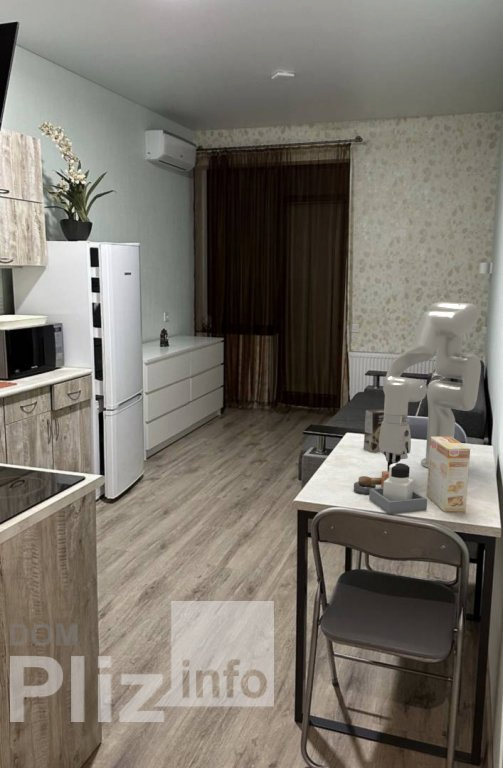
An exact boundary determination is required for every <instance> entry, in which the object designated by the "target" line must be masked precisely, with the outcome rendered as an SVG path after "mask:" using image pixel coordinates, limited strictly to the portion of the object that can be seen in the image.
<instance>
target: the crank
mask: <svg viewBox="0 0 503 768" xmlns="http://www.w3.org/2000/svg"><path fill="white" fill-rule="evenodd" d="M381 481H382V477H371V476H364V475H363V476H362V475H361V476H359V477H358V482H359V485H361V486H370V485H377V486H378V485H379V486H381Z"/></svg>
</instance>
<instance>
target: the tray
mask: <svg viewBox="0 0 503 768" xmlns="http://www.w3.org/2000/svg"><path fill="white" fill-rule="evenodd" d="M383 488H384V487H383ZM383 488H381V487H376V488H372V489H370V491H369V494H368V495H369V496H368V500H369V501H370V502H372V503H373V504H375V505H376V506H377V507H378V508H381V509H382V511H384V512H386V513H387V514H389V515H390V514H398V513H409V512H417V511H427V508H428V507H427V505H428V498H427V497H425V495H424V496H423V495H422V494H420V493H419V492H418V491H415V490H414V489H413V496H412V499H409V500H398V501H390V500H388V499H387V498H385V497H384V496H383Z"/></svg>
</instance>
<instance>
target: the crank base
mask: <svg viewBox="0 0 503 768" xmlns="http://www.w3.org/2000/svg"><path fill="white" fill-rule="evenodd" d="M372 488H377V486H376V485H370V486H361V485H359V481H357V482H354V483H353V492H354V493H356V494H359V495H366V496H367V495H369V491H370V489H372Z"/></svg>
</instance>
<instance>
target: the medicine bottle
mask: <svg viewBox="0 0 503 768" xmlns="http://www.w3.org/2000/svg"><path fill="white" fill-rule="evenodd" d="M410 470H411V469H410V466H409V465H408V464H405V463H403V462H401V463H400V462H398V463H394V464H391V465H390V466H389V478H388V479H387V480H385V481H384V488H383V496H384V497H385V498H387V499H388V500H390V501H398V500H409V499H412V496H413V490H414V479H413V478H410Z"/></svg>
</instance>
